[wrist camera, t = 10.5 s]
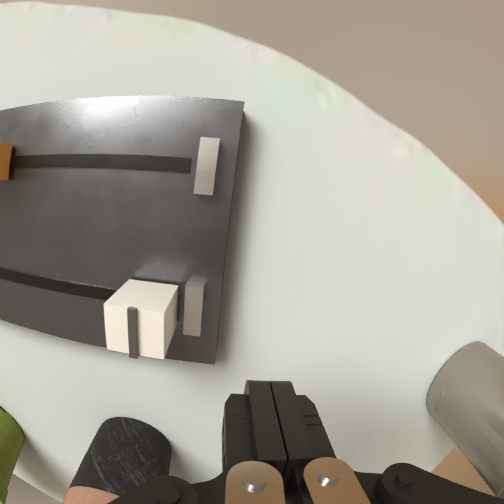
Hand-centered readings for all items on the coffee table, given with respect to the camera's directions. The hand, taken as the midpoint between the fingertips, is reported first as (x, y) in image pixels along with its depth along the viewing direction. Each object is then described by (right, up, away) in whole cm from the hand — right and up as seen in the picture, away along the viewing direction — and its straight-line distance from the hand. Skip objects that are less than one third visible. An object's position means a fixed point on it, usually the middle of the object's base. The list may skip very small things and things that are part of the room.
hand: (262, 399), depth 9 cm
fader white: (-6, +2, +7) cm, 10 cm away
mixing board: (-13, +7, +8) cm, 17 cm away
